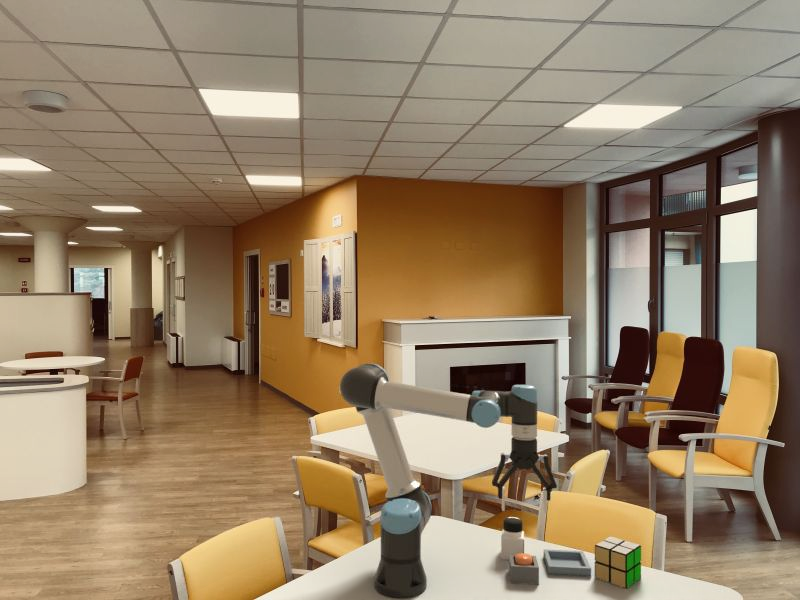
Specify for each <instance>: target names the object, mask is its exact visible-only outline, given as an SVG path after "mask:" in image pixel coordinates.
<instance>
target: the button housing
mask: <svg viewBox="0 0 800 600" xmlns="http://www.w3.org/2000/svg"><path fill="white" fill-rule="evenodd" d="M531 556H532V566H529V565H515V555H509V560H508V573H509V580H510V584H519V585H537V586H540V585H539V584H540V566H539V563H538V559H537V556H536V555H531Z"/></svg>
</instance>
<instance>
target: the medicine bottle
mask: <svg viewBox="0 0 800 600" xmlns="http://www.w3.org/2000/svg"><path fill="white" fill-rule="evenodd" d="M502 527H503V528H502V531H501V536H500V537H501V538H500V541H501V542H500V544H501V545H500V547H501V549H500V556H501V557H500V559H501V560H505V561H506V560H507V561H509V555H516V554H520V553H524V554H525V531H524V530H523V520H522V519H521V518H519V517H514V516H509V517H505V518H504V519H503V526H502Z"/></svg>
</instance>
